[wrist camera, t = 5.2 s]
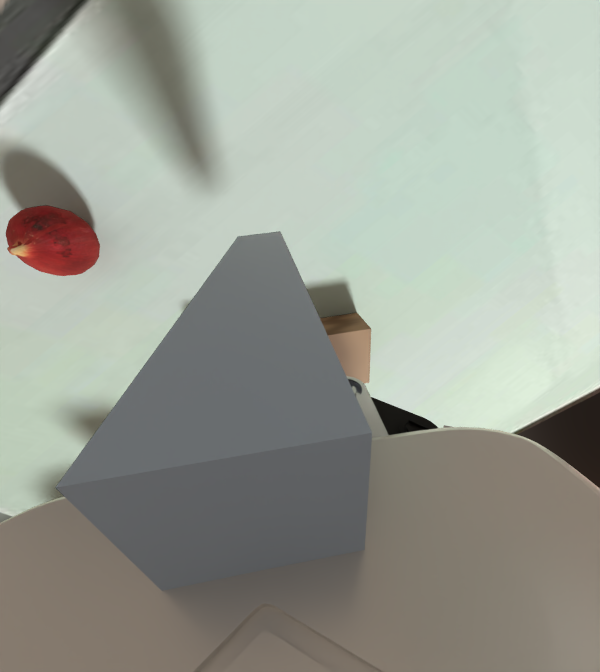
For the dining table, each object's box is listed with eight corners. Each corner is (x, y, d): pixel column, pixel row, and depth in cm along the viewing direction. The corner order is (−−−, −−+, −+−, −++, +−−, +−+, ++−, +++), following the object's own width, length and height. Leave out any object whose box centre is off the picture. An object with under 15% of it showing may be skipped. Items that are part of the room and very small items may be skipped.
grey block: (280, 231, 14) (372, 432, 2) (298, 371, 19) (356, 676, 7) (237, 236, 14) (54, 488, 2) (267, 376, 19) (270, 696, 7)
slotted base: (357, 312, 34) (371, 328, 29) (356, 361, 37) (369, 382, 33) (207, 335, 32) (198, 355, 28) (223, 383, 36) (217, 408, 32)
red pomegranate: (63, 192, 24) (-23, 185, 17) (125, 233, 26) (73, 243, 19) (42, 242, 25) (-44, 255, 18) (102, 277, 28) (46, 301, 20)
